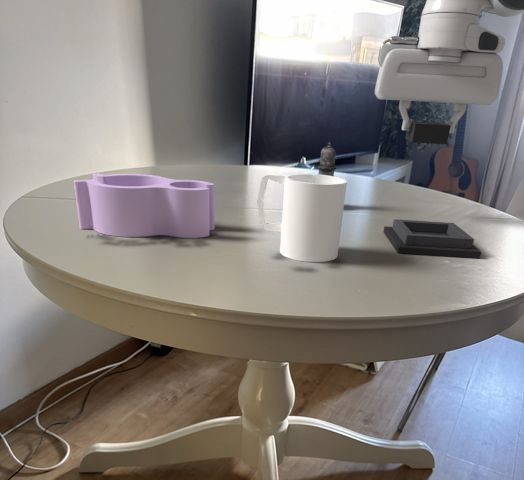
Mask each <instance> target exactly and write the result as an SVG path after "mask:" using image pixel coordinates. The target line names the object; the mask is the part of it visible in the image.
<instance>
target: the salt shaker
mask: <svg viewBox="0 0 524 480" xmlns="http://www.w3.org/2000/svg"><path fill="white" fill-rule="evenodd" d="M331 145H332V144H331V141H328V143H327V145H326V146H325V147H323V148H322V149H321V150H320V158H319V165H318V166H317V169H318V175H328V176H334V177H335V170H337V167H336V166H335V164H336V155H337V151H336V149H335V148H334V147H332V146H331Z"/></svg>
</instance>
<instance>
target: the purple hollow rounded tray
mask: <svg viewBox="0 0 524 480" xmlns="http://www.w3.org/2000/svg"><path fill="white" fill-rule="evenodd" d="M73 188H74V195H75V196H74V197H75V202H76V203H75V204H76V211H77V218H78V224H79V225H78V226H79V229H80V230H90V229H91V230H94V231H95V232H97V233H99V234H102V235H105V236H113V237H121V238H122V237H123V238H139V237H152V236H168V237H169V236H170V237H175V238H181V239H198V238H199V239H201V238H206V237H210V231H214V230H215V213H216V212H215V211H216V210H215V197H216V196H215V192H216V191H215V183H213V182H210V181H203V180H195V179H194V180H193V179H173V178H169V177H164V176H160V175H154V174H144V173H110V174H103V173H92V179H74V180H73Z"/></svg>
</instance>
